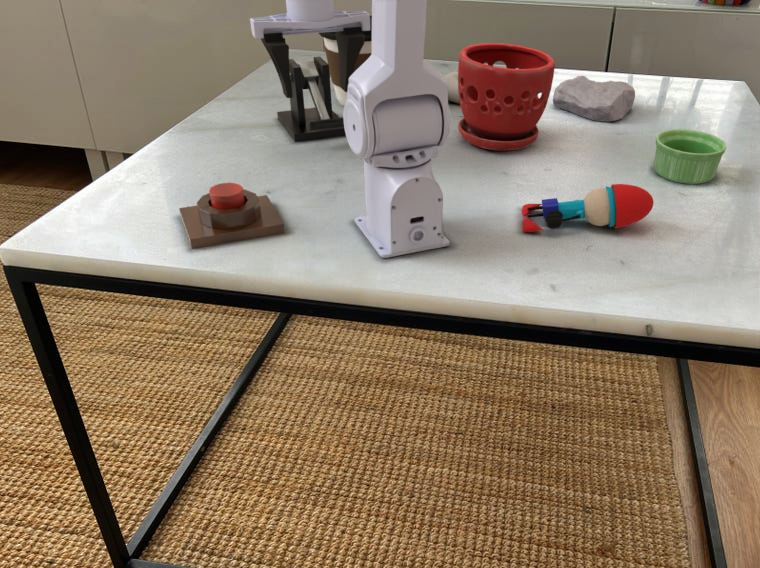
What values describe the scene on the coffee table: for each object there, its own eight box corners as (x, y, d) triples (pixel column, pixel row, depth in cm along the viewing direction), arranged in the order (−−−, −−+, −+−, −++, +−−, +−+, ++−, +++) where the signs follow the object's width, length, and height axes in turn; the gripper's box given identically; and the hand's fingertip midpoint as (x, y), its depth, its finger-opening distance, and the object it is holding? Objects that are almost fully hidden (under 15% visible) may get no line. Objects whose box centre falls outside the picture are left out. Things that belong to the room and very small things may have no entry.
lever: (344, 131, 100) (346, 119, 98) (309, 136, 99) (310, 123, 97) (322, 72, 104) (323, 59, 102) (287, 76, 102) (288, 62, 100)
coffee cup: (354, 86, 122) (351, 9, 115) (405, 100, 117) (404, 21, 110) (309, 102, 115) (302, 21, 108) (360, 118, 110) (357, 34, 103)
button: (241, 195, 81) (239, 180, 80) (248, 208, 79) (246, 193, 78) (209, 199, 80) (206, 185, 79) (214, 213, 78) (212, 198, 77)
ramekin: (638, 162, 100) (644, 130, 97) (696, 157, 101) (704, 127, 99) (669, 189, 93) (677, 156, 90) (731, 183, 95) (740, 151, 92)
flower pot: (480, 163, 98) (485, 71, 90) (441, 130, 107) (443, 45, 100) (562, 150, 102) (574, 62, 95) (518, 120, 111) (525, 38, 104)
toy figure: (524, 248, 82) (659, 234, 80) (521, 207, 79) (660, 192, 78) (522, 223, 88) (646, 209, 87) (518, 184, 86) (647, 169, 84)
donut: (433, 105, 116) (494, 109, 115) (433, 83, 114) (495, 87, 113) (445, 86, 124) (503, 91, 123) (445, 66, 122) (504, 70, 120)
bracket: (349, 136, 104) (345, 69, 98) (295, 142, 101) (288, 74, 96) (329, 113, 111) (324, 50, 105) (277, 119, 108) (270, 54, 103)
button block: (268, 204, 86) (264, 180, 84) (284, 233, 80) (281, 208, 78) (181, 217, 82) (175, 193, 80) (192, 249, 77) (186, 224, 75)
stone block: (612, 135, 112) (637, 106, 117) (614, 106, 109) (639, 77, 114) (544, 122, 117) (571, 94, 123) (543, 94, 114) (571, 67, 119)
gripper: (355, -33, 91) (360, 78, 99) (239, -28, 86) (254, 89, 94) (374, -23, 86) (377, 93, 94) (251, -17, 81) (266, 105, 89)
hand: (317, 92), depth 94 cm, fingers open, 7 cm apart
